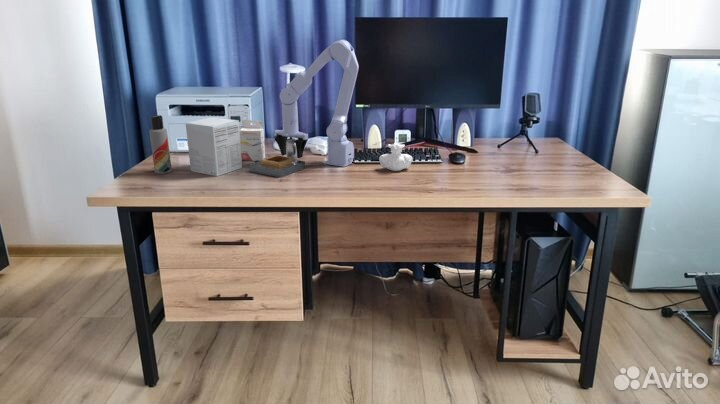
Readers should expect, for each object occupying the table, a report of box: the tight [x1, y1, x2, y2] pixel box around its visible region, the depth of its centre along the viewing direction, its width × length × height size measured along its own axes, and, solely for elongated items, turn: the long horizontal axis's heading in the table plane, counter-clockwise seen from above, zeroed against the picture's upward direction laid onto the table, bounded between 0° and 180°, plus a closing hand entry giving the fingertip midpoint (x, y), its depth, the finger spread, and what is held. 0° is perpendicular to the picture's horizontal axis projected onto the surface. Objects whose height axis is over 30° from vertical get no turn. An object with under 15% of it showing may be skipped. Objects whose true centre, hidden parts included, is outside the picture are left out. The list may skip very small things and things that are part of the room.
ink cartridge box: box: [239, 119, 266, 162], centre depth 204 cm, size 9×5×15 cm, turn 84°
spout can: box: [285, 136, 298, 160], centre depth 202 cm, size 4×4×10 cm
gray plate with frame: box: [248, 154, 306, 178], centre depth 192 cm, size 17×14×4 cm
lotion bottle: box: [148, 114, 172, 175], centre depth 186 cm, size 6×6×20 cm
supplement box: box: [185, 116, 243, 177], centre depth 190 cm, size 13×13×18 cm
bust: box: [378, 142, 414, 172], centre depth 190 cm, size 12×8×11 cm
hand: (291, 156), depth 203 cm, fingers open, 7 cm apart
